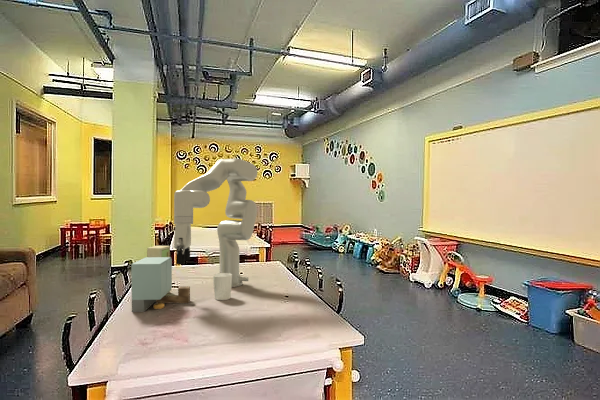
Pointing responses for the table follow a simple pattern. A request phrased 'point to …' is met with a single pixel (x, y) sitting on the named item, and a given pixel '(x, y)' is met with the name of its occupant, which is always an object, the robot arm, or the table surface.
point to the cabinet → (150, 281)
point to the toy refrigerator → (158, 251)
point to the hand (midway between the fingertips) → (183, 262)
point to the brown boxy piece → (177, 296)
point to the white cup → (222, 286)
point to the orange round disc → (158, 305)
